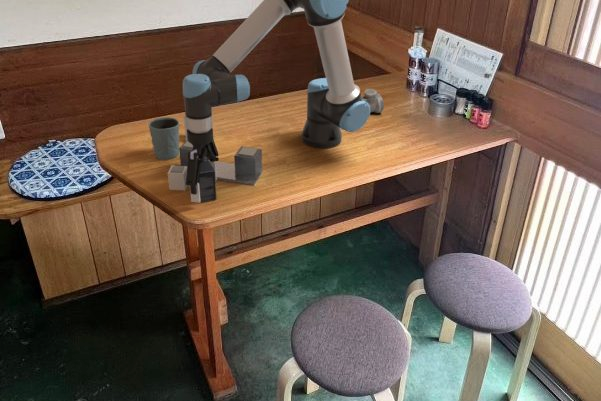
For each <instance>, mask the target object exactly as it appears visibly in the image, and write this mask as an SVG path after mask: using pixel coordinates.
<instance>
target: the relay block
mask: <svg viewBox="0 0 601 401" xmlns="http://www.w3.org/2000/svg"><path fill="white" fill-rule="evenodd" d="M186 175H187V166H181V165H171V166H170V168H169V170H168V172H167V179H168V188H169V191H170V190H171V191H186V189H187V187H188V185H186Z"/></svg>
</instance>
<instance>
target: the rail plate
mask: <svg viewBox="0 0 601 401" xmlns="http://www.w3.org/2000/svg"><path fill="white" fill-rule="evenodd" d="M192 149H193V145H192V144H191V143H189V142H188V139H187V140H186V139H185V141H184V142H183V143H182V144H181V145H180V146H179V161H180V166H188V152H192ZM204 159H207V158H206V156H205V157H204ZM233 160H234V163H230V162H224V161H215V162H216V173H217V180H216V181H223V182H230V183H236V184H244V185H251V186H256V183H257V182H258V180H259V179H260V177H261V175H262V173H263V172H264V168H263V149H262V148H259V147H257V148H256V147H249V146H242V145H241V146H240V147H239V149H238V150H237V152H236V153H234V158H233ZM209 161H210V160H209Z"/></svg>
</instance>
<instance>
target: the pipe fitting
mask: <svg viewBox="0 0 601 401" xmlns="http://www.w3.org/2000/svg"><path fill="white" fill-rule="evenodd" d="M363 94H364V96H361V98H362V100H363V101H366V102H367V103H368V105H369V106H370V113H375V114H379V113H383V111H384V108H385V104H384V99H383V97H382V96H381V94H380V93H378V92H377V90H376V89H373V88H367V89H365V90H364V92H363Z"/></svg>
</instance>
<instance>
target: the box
mask: <svg viewBox="0 0 601 401" xmlns="http://www.w3.org/2000/svg"><path fill="white" fill-rule="evenodd" d="M216 181H217V180H216ZM216 181H215V170H214V168H213V166H212V165H211V163H210V162H209V160H208V159H204V162H203V163H202V164H201V168H200V173H199V178H198V183H199V188H200V200H201V202H200V203H199V204H201V203H205V202H209V201H215V200H217V186H216V185H217V184H216V183H217V182H216Z"/></svg>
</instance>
